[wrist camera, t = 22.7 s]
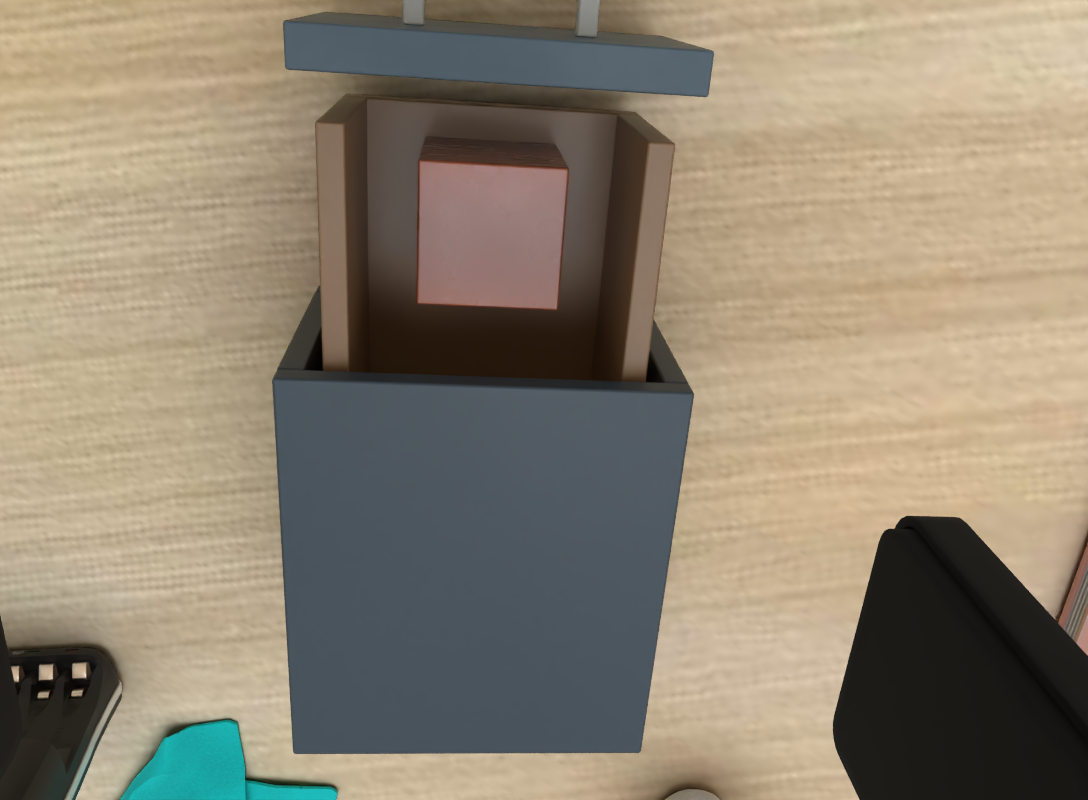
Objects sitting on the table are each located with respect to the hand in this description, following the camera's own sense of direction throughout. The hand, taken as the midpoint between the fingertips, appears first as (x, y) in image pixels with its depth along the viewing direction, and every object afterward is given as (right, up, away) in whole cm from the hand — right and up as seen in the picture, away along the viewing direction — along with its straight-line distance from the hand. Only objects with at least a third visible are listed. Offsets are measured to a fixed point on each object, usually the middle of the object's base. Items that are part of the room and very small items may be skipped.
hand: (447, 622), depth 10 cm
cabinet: (-2, 0, +29) cm, 29 cm away
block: (-1, +9, +23) cm, 24 cm away
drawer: (-1, +11, +23) cm, 25 cm away
